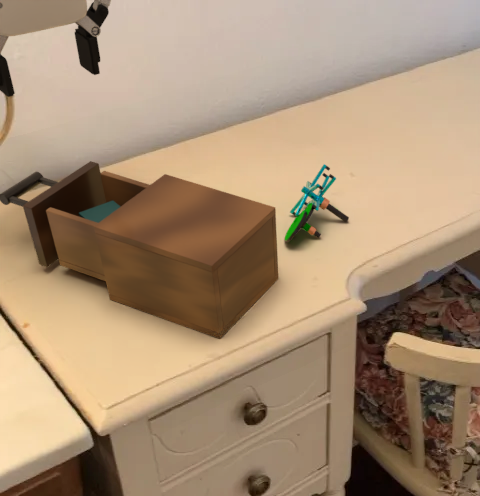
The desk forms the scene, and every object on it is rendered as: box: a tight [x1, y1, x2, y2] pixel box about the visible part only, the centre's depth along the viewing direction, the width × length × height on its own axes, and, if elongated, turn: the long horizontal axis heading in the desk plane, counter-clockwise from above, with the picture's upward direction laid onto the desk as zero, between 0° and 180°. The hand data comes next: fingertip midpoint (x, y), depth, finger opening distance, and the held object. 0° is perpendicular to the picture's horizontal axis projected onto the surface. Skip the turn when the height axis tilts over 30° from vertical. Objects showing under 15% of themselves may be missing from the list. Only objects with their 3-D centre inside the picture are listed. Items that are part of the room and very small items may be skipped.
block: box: [79, 200, 121, 223], centre depth 96 cm, size 4×4×4 cm
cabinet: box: [94, 173, 280, 340], centre depth 93 cm, size 15×13×10 cm
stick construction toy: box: [284, 163, 350, 243], centre depth 105 cm, size 12×7×8 cm
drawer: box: [0, 161, 150, 282], centre depth 97 cm, size 20×11×8 cm, turn 65°
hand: (49, 80), depth 90 cm, fingers open, 9 cm apart
